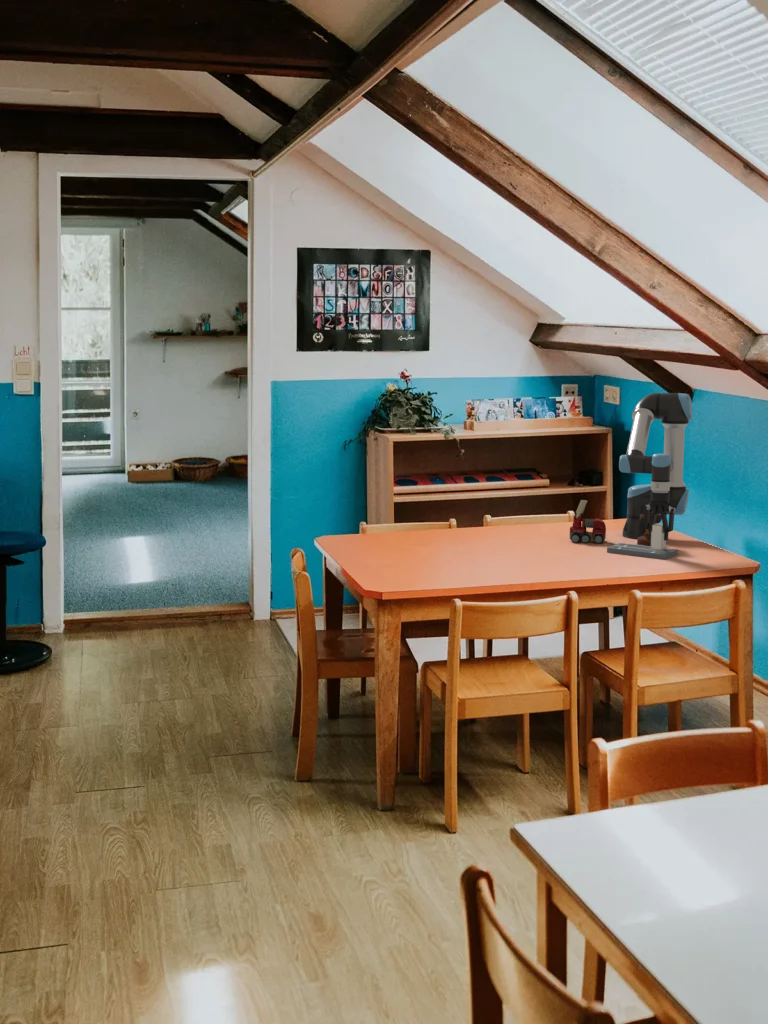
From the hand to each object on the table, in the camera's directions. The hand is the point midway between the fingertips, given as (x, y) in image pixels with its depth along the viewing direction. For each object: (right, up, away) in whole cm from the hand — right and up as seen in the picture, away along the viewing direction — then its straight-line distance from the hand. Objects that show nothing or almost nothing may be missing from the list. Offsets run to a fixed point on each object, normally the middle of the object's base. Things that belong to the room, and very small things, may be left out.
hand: (658, 547), depth 462 cm
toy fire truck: (-23, +1, +32) cm, 40 cm away
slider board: (-6, -3, +5) cm, 8 cm away
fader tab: (0, -1, 0) cm, 1 cm away
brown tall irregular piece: (+1, 0, +21) cm, 21 cm away
